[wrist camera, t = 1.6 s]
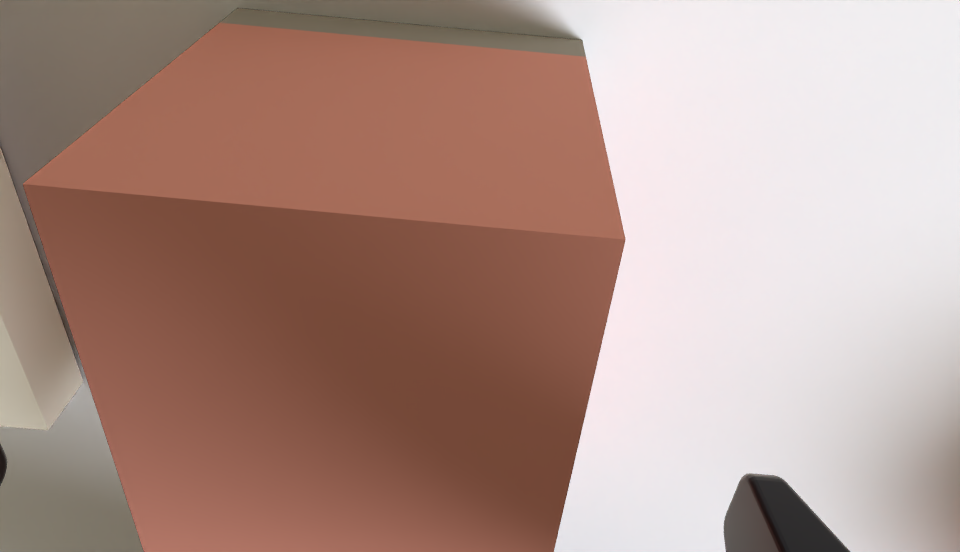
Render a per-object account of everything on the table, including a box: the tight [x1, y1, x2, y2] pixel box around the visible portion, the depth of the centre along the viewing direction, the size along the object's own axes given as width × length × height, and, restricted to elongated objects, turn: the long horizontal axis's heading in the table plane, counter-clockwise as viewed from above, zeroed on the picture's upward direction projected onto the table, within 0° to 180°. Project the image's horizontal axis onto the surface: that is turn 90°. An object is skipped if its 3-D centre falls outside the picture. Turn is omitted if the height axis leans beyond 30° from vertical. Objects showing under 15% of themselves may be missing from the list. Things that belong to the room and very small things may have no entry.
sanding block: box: [23, 8, 625, 552], centre depth 10 cm, size 8×4×5 cm, turn 176°
